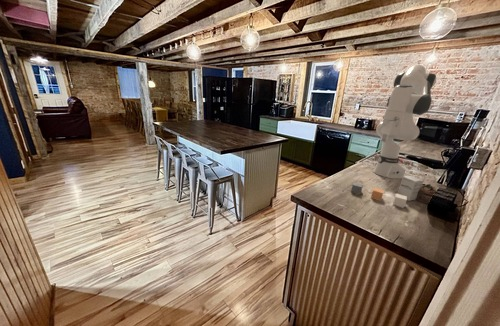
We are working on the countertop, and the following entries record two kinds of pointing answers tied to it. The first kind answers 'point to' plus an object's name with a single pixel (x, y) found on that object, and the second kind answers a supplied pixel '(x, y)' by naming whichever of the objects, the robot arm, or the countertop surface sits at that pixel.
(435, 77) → the robot arm
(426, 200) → the cupcake
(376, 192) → the terracotta cube
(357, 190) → the charcoal cube
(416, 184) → the supplement box
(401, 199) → the offwhite cube
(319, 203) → the countertop surface
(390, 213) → the countertop surface
